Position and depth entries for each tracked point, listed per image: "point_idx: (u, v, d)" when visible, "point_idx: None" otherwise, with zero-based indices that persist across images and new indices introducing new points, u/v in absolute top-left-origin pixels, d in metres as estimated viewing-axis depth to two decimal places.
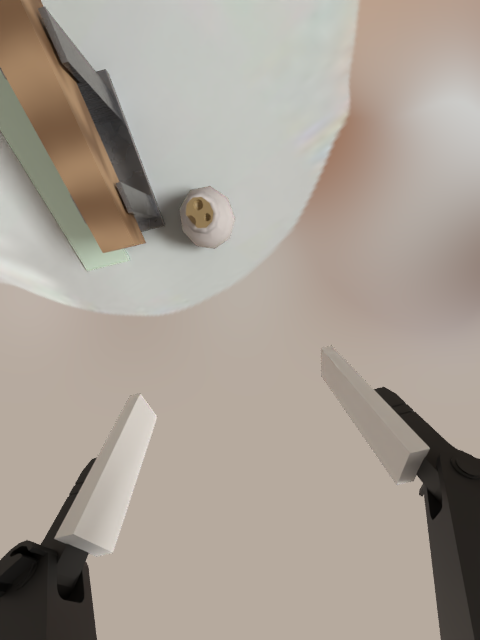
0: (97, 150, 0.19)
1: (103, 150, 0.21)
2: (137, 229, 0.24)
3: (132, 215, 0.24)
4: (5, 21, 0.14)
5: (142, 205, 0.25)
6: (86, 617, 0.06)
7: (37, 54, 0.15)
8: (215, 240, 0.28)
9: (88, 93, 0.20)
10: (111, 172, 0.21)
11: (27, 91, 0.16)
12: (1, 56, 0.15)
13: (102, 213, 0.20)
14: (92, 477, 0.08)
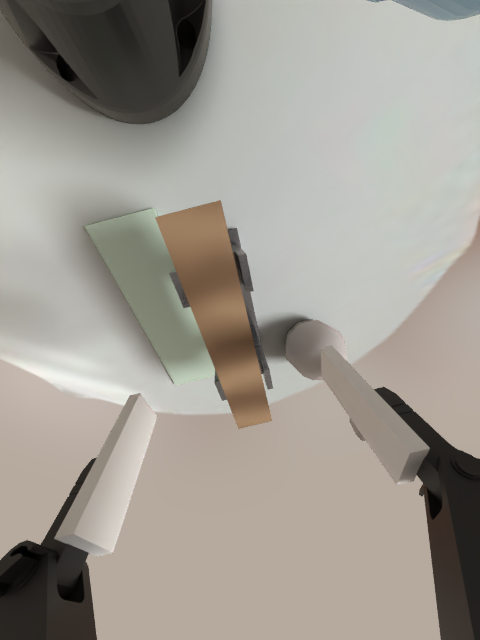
0: None
1: None
2: None
3: None
4: (214, 284, 0.13)
5: None
6: (86, 617, 0.06)
7: (236, 304, 0.14)
8: None
9: None
10: None
11: (213, 330, 0.15)
12: (199, 308, 0.14)
13: (250, 403, 0.19)
14: (92, 477, 0.08)
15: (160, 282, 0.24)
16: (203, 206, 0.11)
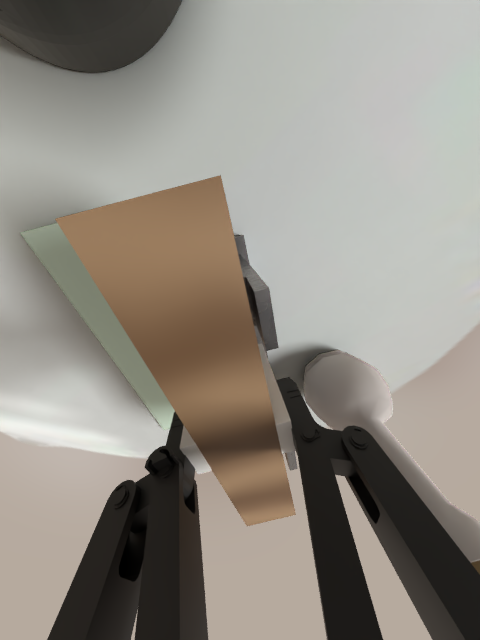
0: None
1: None
2: None
3: None
4: (208, 352, 0.06)
5: None
6: (196, 527, 0.08)
7: (250, 382, 0.07)
8: None
9: None
10: None
11: (208, 421, 0.08)
12: (179, 392, 0.07)
13: (266, 500, 0.13)
14: None
15: None
16: (177, 191, 0.04)
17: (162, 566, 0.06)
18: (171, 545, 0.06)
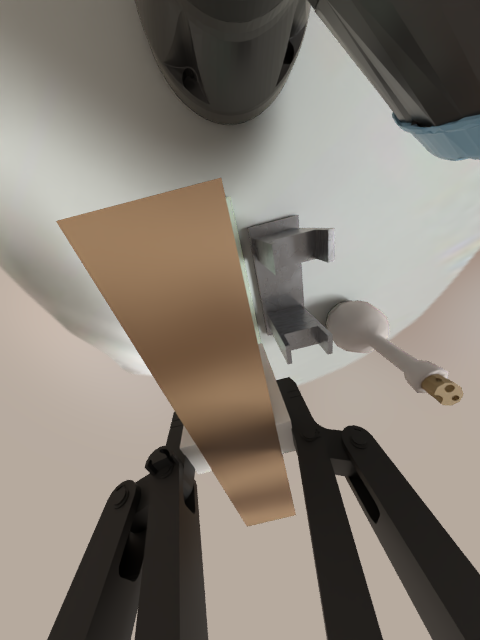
0: None
1: None
2: None
3: None
4: (209, 354, 0.06)
5: None
6: (196, 527, 0.08)
7: (251, 383, 0.07)
8: None
9: None
10: None
11: (208, 422, 0.08)
12: (180, 393, 0.07)
13: (266, 501, 0.13)
14: None
15: None
16: (178, 193, 0.04)
17: (162, 566, 0.06)
18: (171, 545, 0.06)
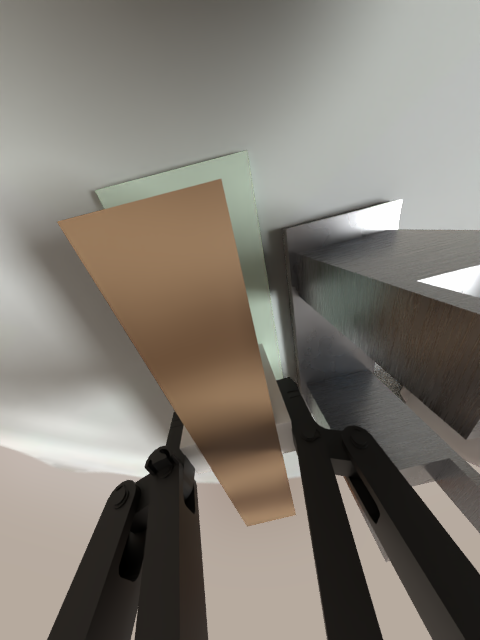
0: None
1: None
2: None
3: None
4: (209, 354, 0.06)
5: None
6: (196, 528, 0.08)
7: (251, 383, 0.07)
8: None
9: None
10: None
11: (208, 422, 0.08)
12: (180, 393, 0.07)
13: (266, 501, 0.13)
14: None
15: None
16: (178, 194, 0.04)
17: (162, 566, 0.06)
18: (171, 545, 0.06)
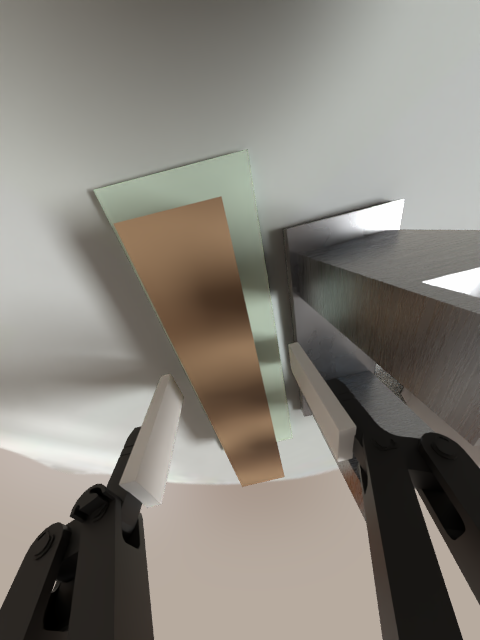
0: None
1: None
2: None
3: None
4: (212, 322, 0.09)
5: None
6: (141, 562, 0.07)
7: (243, 347, 0.10)
8: None
9: None
10: None
11: (210, 381, 0.10)
12: (189, 354, 0.09)
13: (258, 460, 0.15)
14: (141, 439, 0.09)
15: None
16: (193, 206, 0.06)
17: (93, 618, 0.05)
18: (105, 590, 0.06)
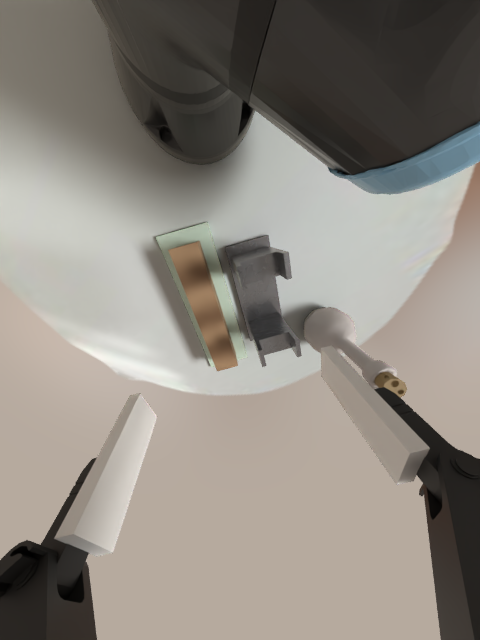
0: (223, 317, 0.31)
1: None
2: (233, 347, 0.36)
3: (231, 340, 0.35)
4: (196, 279, 0.26)
5: None
6: (86, 617, 0.06)
7: (208, 290, 0.27)
8: None
9: None
10: (225, 323, 0.33)
11: (197, 304, 0.28)
12: (189, 292, 0.27)
13: (222, 352, 0.32)
14: (92, 477, 0.08)
15: None
16: (189, 244, 0.24)
17: None
18: None
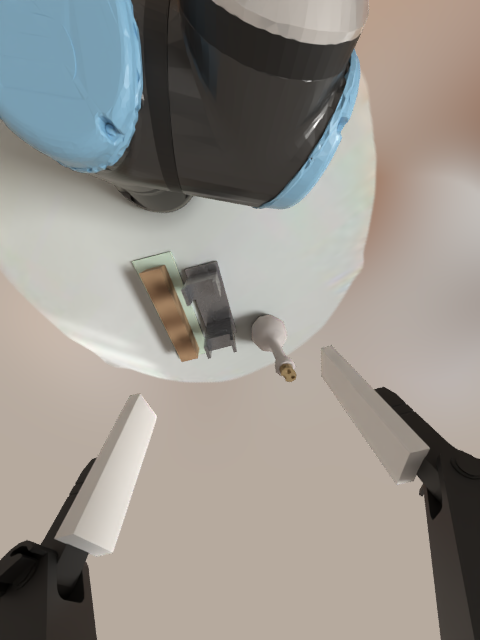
0: (184, 321, 0.41)
1: (185, 316, 0.42)
2: (196, 344, 0.46)
3: (194, 338, 0.45)
4: (161, 294, 0.36)
5: (233, 336, 0.40)
6: (86, 617, 0.06)
7: (170, 301, 0.37)
8: None
9: None
10: (188, 325, 0.43)
11: (162, 311, 0.38)
12: (156, 303, 0.37)
13: (185, 347, 0.42)
14: (92, 477, 0.08)
15: None
16: (154, 270, 0.34)
17: None
18: None
